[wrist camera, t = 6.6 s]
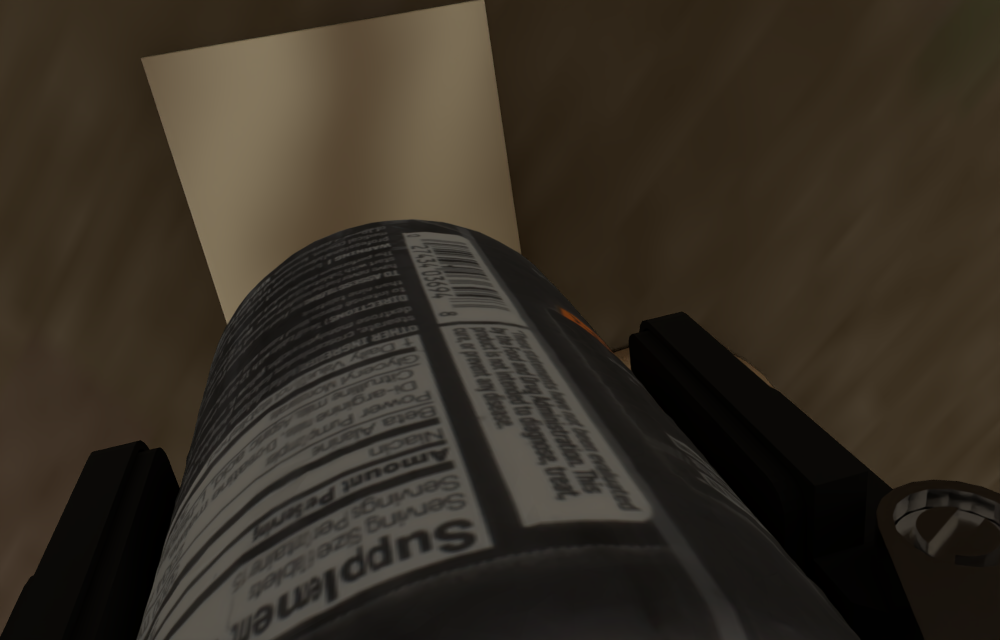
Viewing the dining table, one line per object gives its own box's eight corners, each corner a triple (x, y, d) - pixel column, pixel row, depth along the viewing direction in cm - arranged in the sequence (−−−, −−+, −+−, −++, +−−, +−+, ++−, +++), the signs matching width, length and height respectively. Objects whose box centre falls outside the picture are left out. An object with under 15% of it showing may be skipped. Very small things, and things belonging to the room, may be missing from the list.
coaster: (480, -1, 24) (483, -1, 24) (523, 296, 28) (528, 302, 28) (145, 56, 23) (140, 58, 22) (242, 360, 27) (241, 368, 26)
